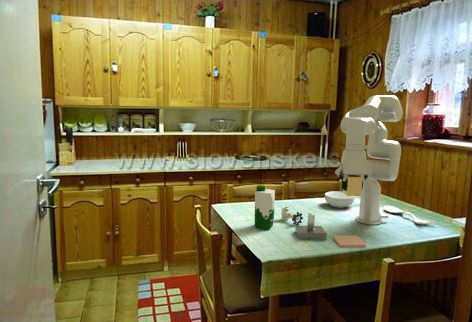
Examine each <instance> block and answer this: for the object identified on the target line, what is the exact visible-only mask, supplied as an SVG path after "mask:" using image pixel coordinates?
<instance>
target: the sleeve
mask: <svg viewBox="0 0 472 322" xmlns="http://www.w3.org/2000/svg"><path fill="white" fill-rule="evenodd" d="M362 179H363V177H361V176H359V175H348V176H347V179H346V181H347V185H346V191H344V190H343V189H342V192H343V193H344V194H345V195H347V196H354V197H361V193H362Z"/></svg>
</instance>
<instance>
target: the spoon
mask: <svg viewBox="0 0 472 322" xmlns="http://www.w3.org/2000/svg"><path fill="white" fill-rule="evenodd" d="M383 209H384V210H385V212H388V213H390V214H405V215H408V216H410V217H411V218H412V219H413V221H414V223H416V224H419V225H428V224H436V223H437V221H436V220H423V219H419V218H417V217H416V216H415V215H414V214H412V213H411V212H409V211H405V210H402V209H400V208H397V207H396V206H392V205H384V206H383Z"/></svg>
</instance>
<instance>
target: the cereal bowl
mask: <svg viewBox="0 0 472 322" xmlns="http://www.w3.org/2000/svg"><path fill="white" fill-rule="evenodd" d="M324 199H325V201H326V203H327V204H329V205H330V206H331V207H333V208H336V207H337V208H338V209H343V208H344V209H345V208H346V207H349V206H352V205H353V203H354V201H355V196H347V195H345V194H344V193H343V191H338V190H337V191H333V190H332V191H328V192H325V193H324Z"/></svg>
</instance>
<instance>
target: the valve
mask: <svg viewBox="0 0 472 322" xmlns="http://www.w3.org/2000/svg"><path fill="white" fill-rule="evenodd" d="M280 215H281V217H280V219H281V221H283V222H287V221H289V220H290V219H291V221H293V222H292V224H293V225H294V226H300V225H299V224H302V223H303V221H302V220H304V217H303V213H300V212H298V211H297V212H296V213H292V212H290V207H288V206H282V207H281V213H280Z"/></svg>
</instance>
